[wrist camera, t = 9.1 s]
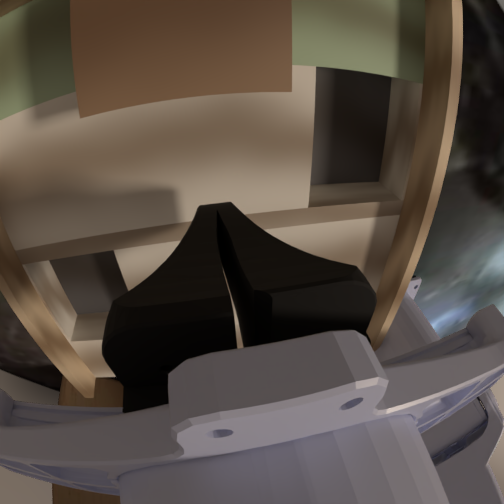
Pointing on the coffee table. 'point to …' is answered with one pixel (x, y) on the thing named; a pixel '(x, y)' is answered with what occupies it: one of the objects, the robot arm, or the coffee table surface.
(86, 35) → the walnut cube
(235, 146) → the divided wooden-rimmed tray
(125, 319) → the robot arm
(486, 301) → the coffee table surface
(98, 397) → the wooden block
